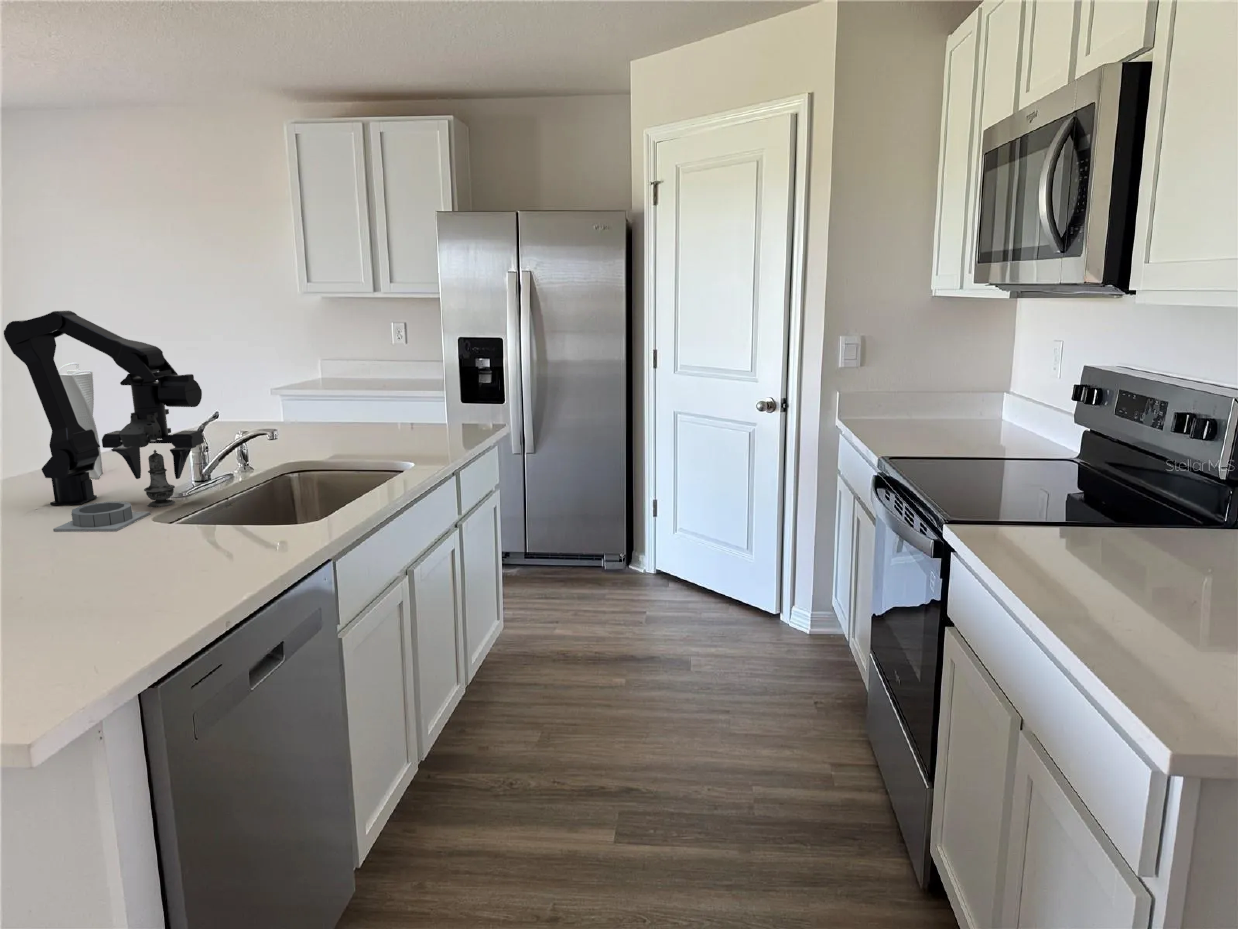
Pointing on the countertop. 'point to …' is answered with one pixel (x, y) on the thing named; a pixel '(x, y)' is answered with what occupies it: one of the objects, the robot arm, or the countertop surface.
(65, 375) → the skyscraper
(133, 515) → the collar
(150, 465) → the salt shaker
